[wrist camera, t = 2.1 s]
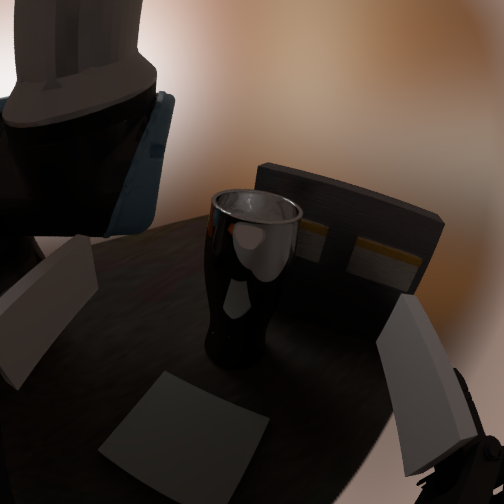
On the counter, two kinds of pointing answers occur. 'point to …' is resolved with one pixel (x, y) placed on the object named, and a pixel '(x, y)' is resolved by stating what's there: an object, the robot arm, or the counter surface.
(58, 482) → the counter surface
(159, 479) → the rubber mat
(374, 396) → the counter surface
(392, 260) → the label panel
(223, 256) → the beer glass
